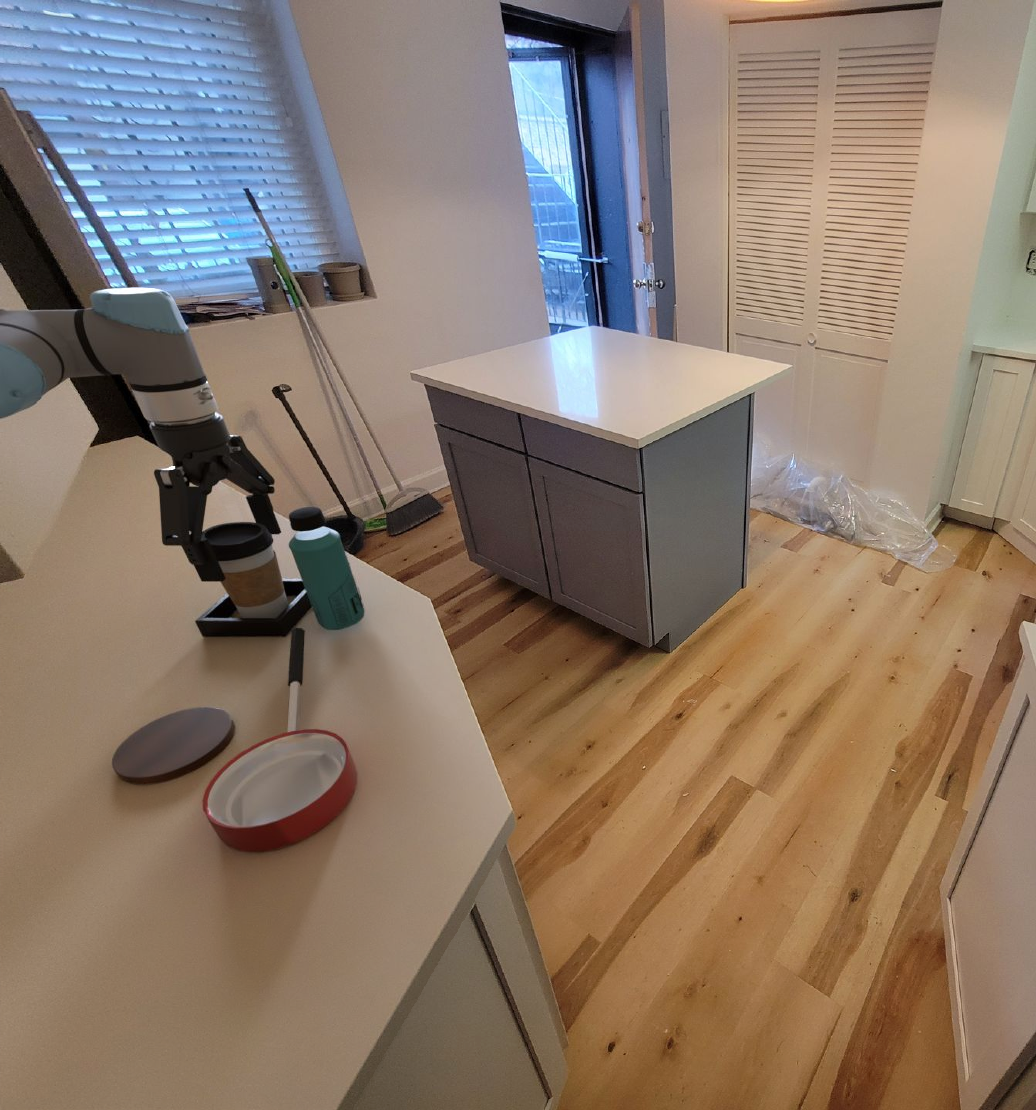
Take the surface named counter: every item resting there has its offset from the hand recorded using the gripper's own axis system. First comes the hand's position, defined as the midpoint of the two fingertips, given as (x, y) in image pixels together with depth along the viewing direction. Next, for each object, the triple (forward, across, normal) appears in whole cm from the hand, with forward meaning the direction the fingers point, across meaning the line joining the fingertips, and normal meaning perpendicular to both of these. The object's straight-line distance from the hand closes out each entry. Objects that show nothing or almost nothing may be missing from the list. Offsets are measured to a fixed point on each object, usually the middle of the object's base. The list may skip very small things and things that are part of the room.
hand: (244, 555), depth 90 cm
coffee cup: (+11, 0, 0) cm, 11 cm away
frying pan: (+11, -27, -17) cm, 34 cm away
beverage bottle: (+11, -3, -13) cm, 17 cm away
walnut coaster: (+11, -27, -5) cm, 30 cm away
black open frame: (+11, 0, 0) cm, 11 cm away
